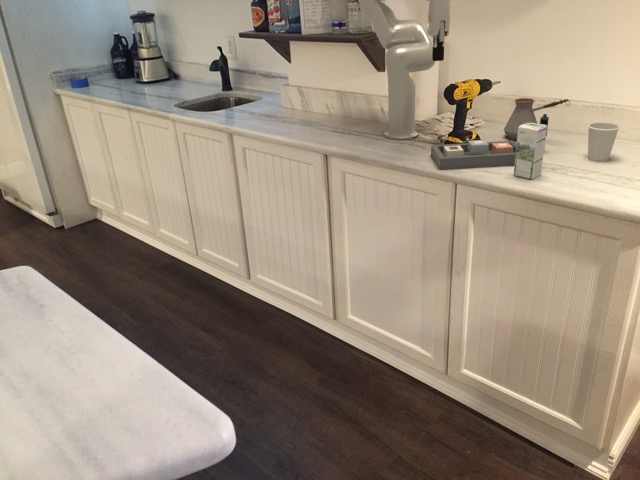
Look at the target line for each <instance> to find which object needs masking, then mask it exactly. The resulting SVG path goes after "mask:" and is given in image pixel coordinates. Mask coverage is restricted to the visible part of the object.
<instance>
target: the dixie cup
mask: <svg viewBox="0 0 640 480" xmlns="http://www.w3.org/2000/svg"><path fill="white" fill-rule="evenodd" d="M587 127H588V137H587V138H588V139H587V159H588V160H590V161H593V162H608V161H609V160H610V156H611V154H612V150H613V147H614V144H615V141H616V138H617V135H618V131H619V130H620V128H621V126H620V125H619V124H617V123H612V122H606V121H604V122H603V121H600V122H599V121H597V122H592V123H589V124H588V125H587Z"/></svg>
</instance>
